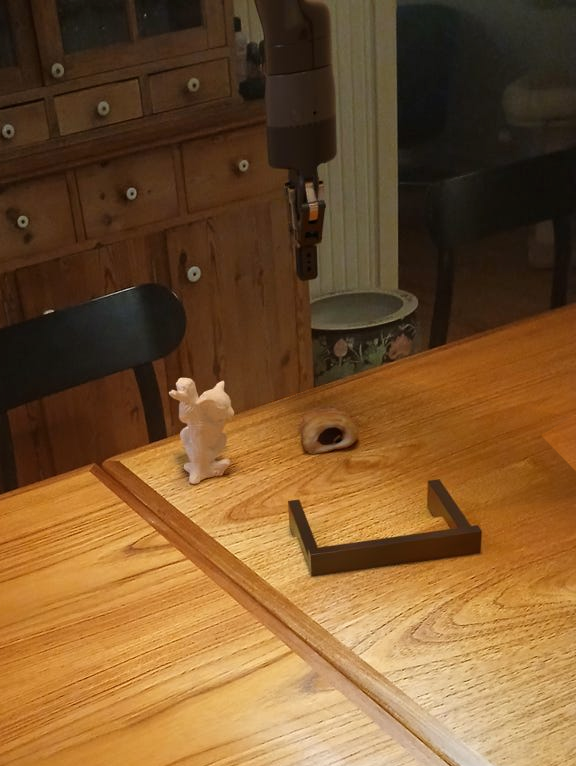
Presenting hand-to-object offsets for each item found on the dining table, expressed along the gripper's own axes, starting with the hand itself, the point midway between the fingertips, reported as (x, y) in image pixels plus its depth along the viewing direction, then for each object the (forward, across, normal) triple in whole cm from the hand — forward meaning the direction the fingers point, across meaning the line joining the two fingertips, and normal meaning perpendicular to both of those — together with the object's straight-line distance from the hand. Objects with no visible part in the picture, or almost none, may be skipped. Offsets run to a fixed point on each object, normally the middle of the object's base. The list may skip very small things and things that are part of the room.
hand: (307, 277), depth 117 cm
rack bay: (+17, -35, 0) cm, 39 cm away
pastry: (+17, -9, 0) cm, 19 cm away
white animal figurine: (+17, -13, +15) cm, 26 cm away
